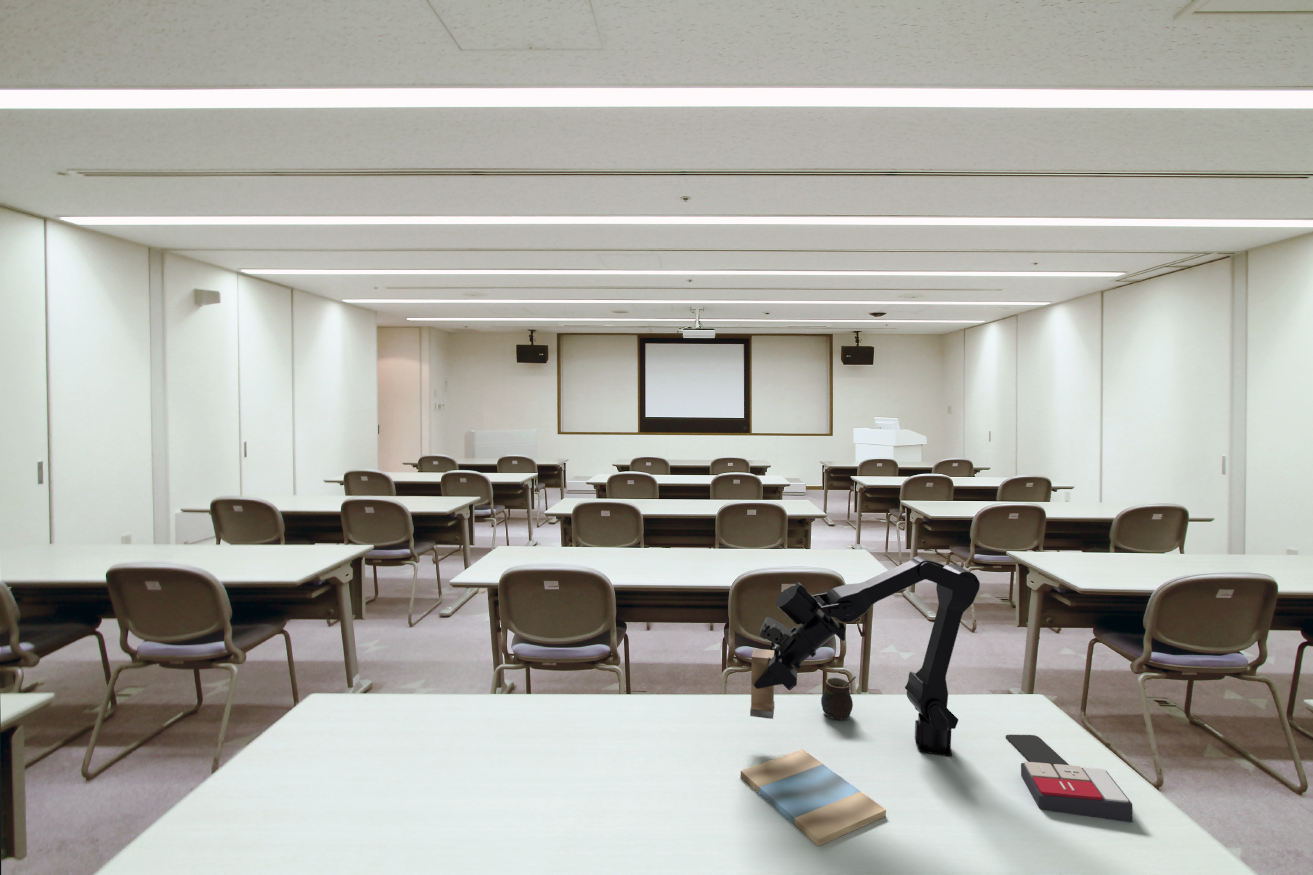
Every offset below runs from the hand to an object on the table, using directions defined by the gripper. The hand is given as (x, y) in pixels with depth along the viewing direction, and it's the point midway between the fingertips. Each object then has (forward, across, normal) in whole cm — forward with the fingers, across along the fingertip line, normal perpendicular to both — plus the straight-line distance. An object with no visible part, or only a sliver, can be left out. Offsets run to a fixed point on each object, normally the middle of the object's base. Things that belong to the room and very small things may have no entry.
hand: (756, 681), depth 138 cm
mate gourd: (-3, -16, +22) cm, 28 cm away
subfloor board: (+1, +16, +18) cm, 24 cm away
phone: (-31, -10, +51) cm, 61 cm away
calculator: (-32, +4, +52) cm, 62 cm away
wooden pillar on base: (+4, 0, +6) cm, 7 cm away
